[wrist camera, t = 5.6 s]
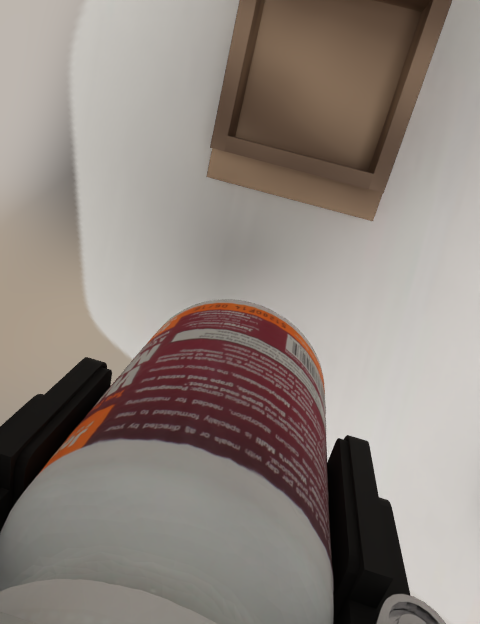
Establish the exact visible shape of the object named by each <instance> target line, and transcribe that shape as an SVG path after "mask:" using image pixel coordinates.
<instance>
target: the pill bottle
mask: <svg viewBox="0 0 480 624" xmlns="http://www.w3.org/2000/svg"><path fill="white" fill-rule="evenodd" d="M325 414H326V406H325V390H324V379H323V374H322V369H321V366H320V363H319V360H318V357H317V355H316V353H315V351H314V349H313V348H312V346H311V345H310V343H309V342H308V340H307V339H306V338H305V336H304V335H303V334H302V333H301V332H300V331H299V330H298V329H297V328H296V327H295V326H294V325H293V324H292V323H290V322H289V321H288V320H286V319H285V318H283V317H282V316H280V315H279V314H277V313H275V312H273V311H272V310H270V309H267V308H265V307H263V306H260V305H257V304H254V303H250V302H246V301H239V300H213V301H206V302H203V303H199V304H196V305H193V306H191V307H189V308H187V309H184V310H183V311H181V312H179V313H178V314H176V315H175V316H174V317H172V318H171V319H170V320H168V321H167V322H166V323H165V324H164V325H163V326H162V327H161V328H160V329H159V330H158V332H157V333H156V334H155V335H154V336H153V337H152V338H151V340H150V341H149V342H148V343H147V344H146V345H145V346H144V347H143V348H142V350H141V351H140V352H139V353H138V354H137V356H136V357H135V358H134V359H133V360H132V361H131V363H130V364H129V365H128V366H127V367H126V369H125V370H124V371H123V372H122V374H121V375H120V376H119V377H118V378H117V379H116V381H115V382H114V383H113V384H112V385H111V386H110V387H109V389H108V390H107V391H106V392H105V394H104V395H103V396H102V397H101V398H100V399H99V401H98V402H97V403H96V405H95V406H94V407H93V408H92V409H91V411H90V412H89V413H88V414H87V415H86V417H85V418H84V419H83V420H82V421H81V422H80V423H79V424H78V426H77V427H76V428H75V429H74V431H73V432H72V433H71V434H70V435H69V437H68V438H67V440H66V441H65V442H64V443H63V444H62V446H61V447H60V448H59V449H58V450H57V452H56V453H55V454H54V455H53V456H52V457H51V459H50V460H49V461H48V462H47V464H46V465H45V466H44V468H43V469H42V470H41V471H40V473H39V474H38V475H37V476H36V478H35V479H34V480H33V481H32V483H31V484H30V485H29V486H28V487H27V489H26V490H25V491H24V492H23V494H22V495H21V496H20V498H19V499H18V501H17V502H16V504H15V505H14V507H13V508H12V510H11V511H10V513H9V515H8V517H7V519H6V522H5V524H4V526H3V528H2V530H1V533H0V612H3V613H6V614H9V615H12V616H15V617H18V618H21V619H24V620H27V621H30V622H33V623H36V624H333V616H334V604H333V591H334V579H333V570H332V555H331V540H330V522H329V495H328V474H327V449H326V418H325Z"/></svg>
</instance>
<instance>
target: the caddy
mask: <svg viewBox="0 0 480 624" xmlns="http://www.w3.org/2000/svg"><path fill="white" fill-rule="evenodd" d="M451 2H452V0H240V1H239V6H238V11H237V16H236V21H235V26H234V31H233V36H232V41H231V46H230V51H229V56H228V61H227V66H226V71H225V76H224V81H223V86H222V91H221V96H220V101H219V106H218V111H217V116H216V121H215V126H214V131H213V136H212V141H211V146H210V148H212V152H211V157H210V162H209V167H208V172H207V177H210V178H213V179H217V180H221V181H225V182H228V183H232V184H236V185H239V186H243V187H247V188H251V189H254V190H258V191H262V192H266V193H269V194H273V195H277V196H281V197H284V198H288V199H292V200H296V201H299V202H303V203H307V204H310V205H314V206H318V207H322V208H325V209H329V210H333V211H337V212H340V213H344V214H348V215H352V216H355V217H359V218H363V219H366V220H370V221H373V219H374V216H375V214H376V211H377V208H378V205H379V202H380V200H381V197H382V194H383V193H384V190H385V187H386V184H387V182H388V179H389V176H390V173H391V170H392V168H393V165H394V162H395V159H396V156H397V154H398V151H399V148H400V145H401V142H402V140H403V137H404V134H405V131H406V128H407V126H408V123H409V120H410V117H411V114H412V112H413V109H414V106H415V103H416V100H417V98H418V95H419V92H420V89H421V86H422V84H423V81H424V78H425V75H426V72H427V69H428V67H429V64H430V61H431V58H432V55H433V53H434V50H435V47H436V44H437V41H438V39H439V36H440V33H441V30H442V27H443V25H444V22H445V19H446V16H447V13H448V11H449V8H450V5H451Z"/></svg>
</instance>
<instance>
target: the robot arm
mask: <svg viewBox="0 0 480 624" xmlns="http://www.w3.org/2000/svg"><path fill="white" fill-rule="evenodd" d="M111 376H112V371H111V370H109V369H107V365H106V363H105V362H101V361H98V360H95V359H91V358H88V357H85V358H84V359H83V360H82V361H80V362H79V363H78V364H77V365H76V366H75V367H74V368H73V369H72V370H71V371H70V372H69V373H67V374H66V375H65V377H63V378H62V379H61V380H60V381H59V382H58V383H57V384H55V385H54V386H53V387H52V388H51V389H50V390H49V391H48V392H47V393H46V394H45V395H43V394H38V395H36V396H34V397H33V398H32V399H31V400H30V401H28V402H27V403H26V404H25V405H24V406H23V407H22V408H21V409H19V410H18V411H17V412H16V413H15V414H14V415H13V416H12V417H11V418H9V419H8V420H7V421H6V422H5V423H4V424H3V425H2V426H0V533H1V530H2V528H3V526H4V524H5V522H6V519H7V517H8V515H9V513H10V511H11V510H12V508H13V507H14V505H15V504H16V502H17V501H18V499H19V498H20V496H21V495H22V494H23V492H24V491H25V490H26V489H27V487H28V486H29V485H30V484H31V483H32V481H33V480H34V479H35V478H36V476H37V475H38V474H39V473H40V471H41V470H42V469H43V468H44V466H45V465H46V464H47V462H48V461H49V460H50V459H51V457H52V456H53V455H54V454H55V453H56V452H57V450H58V449H59V448H60V447H61V446H62V444H63V443H64V442H65V441H66V440H67V438H68V437H69V435H70V434H71V433H72V432H73V431H74V429H75V428H76V427H77V426H78V424H79V423H80V422H81V421H82V420H83V419H84V418H85V417H86V415H87V414H88V413H89V412H90V411H91V409H92V408H93V407H94V406H95V405H96V403H97V402H98V401H99V399H100V398H101V397H102V396H103V395H104V394H105V392H106V391H107V390H108V389H109V387H110V383H111ZM327 474H328V495H329V522H330V540H331V555H332V570H333V579H334V591H333V604H334V616H333V624H446V623H445V622H444V620H443V619H442V618H441V617H440V616H439V615H438V613H437V612H436V611H435V610H433V609H432V608H431V607H430V606H428V605H427V604H426V603H425V602H423V601H421V600H419V599H417V598H415V597H413V596H410V591H409V587H408V582H407V577H406V573H405V568H404V563H403V558H402V554H401V549H400V544H399V540H398V535H397V530H396V525H395V521H394V516H393V511H392V507H391V504H390V502H389V501H388V500H386V499H382V498H379V496H378V491H377V485H376V480H375V474H374V469H373V463H372V458H371V452H370V447H369V443H368V441H365V440H362V439H358V438H355V437H352V436H348V435H347V436H346V437H345V438H344V440H343V439H339V438H338V439H337V441H336V443H335V445H334V448H333V450H332V453H331V455H330V458H329V460H328V463H327ZM0 624H36V623H33V622H30V621H27V620H24V619H21V618H18V617H15V616H12V615H9V614H6V613H3V612H0Z"/></svg>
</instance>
